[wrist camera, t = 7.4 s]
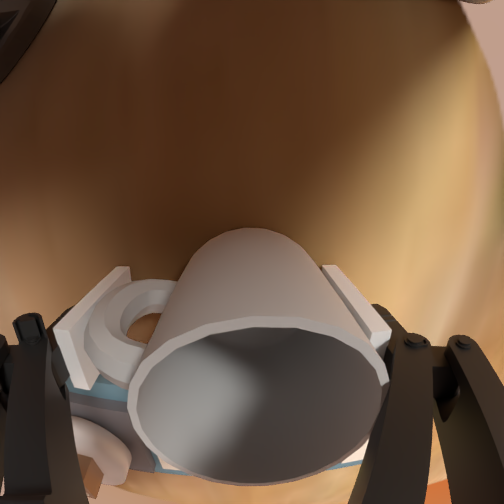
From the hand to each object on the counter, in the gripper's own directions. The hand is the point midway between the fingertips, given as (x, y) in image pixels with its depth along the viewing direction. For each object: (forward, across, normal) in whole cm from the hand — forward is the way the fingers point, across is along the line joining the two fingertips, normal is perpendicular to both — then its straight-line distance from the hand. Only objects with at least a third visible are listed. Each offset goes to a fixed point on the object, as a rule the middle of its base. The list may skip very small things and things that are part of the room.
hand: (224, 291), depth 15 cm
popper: (-2, -11, -12) cm, 16 cm away
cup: (0, 0, 0) cm, 0 cm away
